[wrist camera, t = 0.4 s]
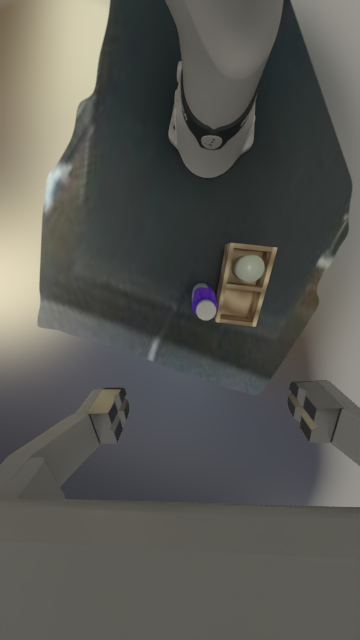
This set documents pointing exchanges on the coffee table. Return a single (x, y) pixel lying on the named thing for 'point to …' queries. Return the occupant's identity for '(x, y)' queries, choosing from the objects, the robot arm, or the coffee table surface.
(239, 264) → the pale green egg
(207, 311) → the bottle
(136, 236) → the coffee table surface
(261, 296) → the rack
